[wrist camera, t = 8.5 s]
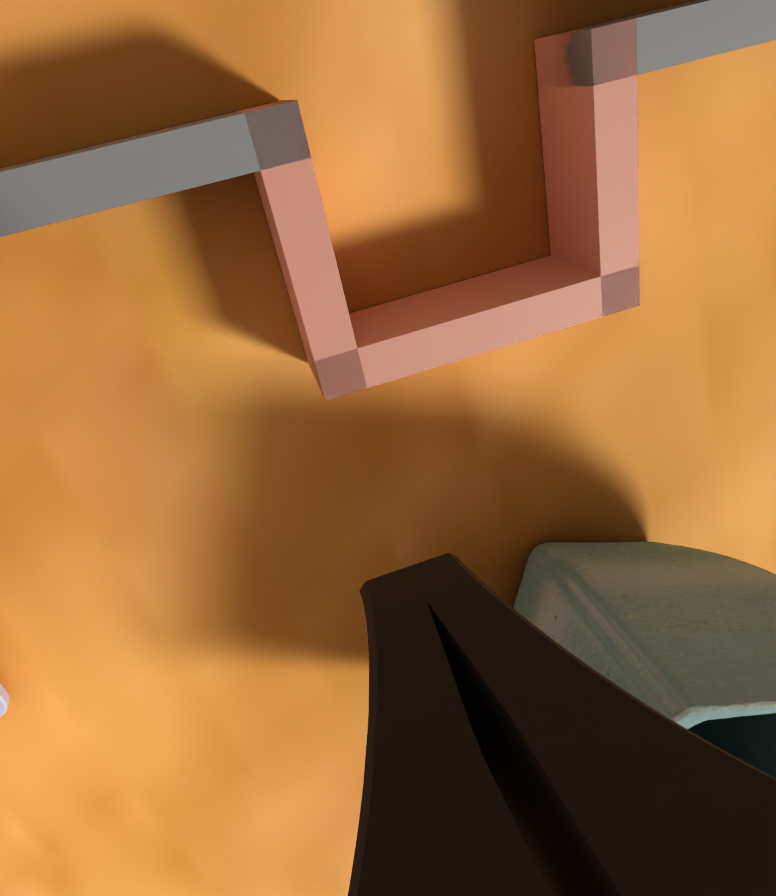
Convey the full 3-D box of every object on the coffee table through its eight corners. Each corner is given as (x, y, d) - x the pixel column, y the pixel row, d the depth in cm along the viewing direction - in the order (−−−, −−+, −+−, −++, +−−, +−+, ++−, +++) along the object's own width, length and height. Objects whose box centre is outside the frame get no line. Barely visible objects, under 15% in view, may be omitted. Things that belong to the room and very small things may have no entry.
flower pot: (720, 493, 23) (978, 684, 16) (637, 679, 27) (814, 907, 19) (497, 487, 21) (678, 714, 13) (438, 694, 24) (553, 967, 17)
